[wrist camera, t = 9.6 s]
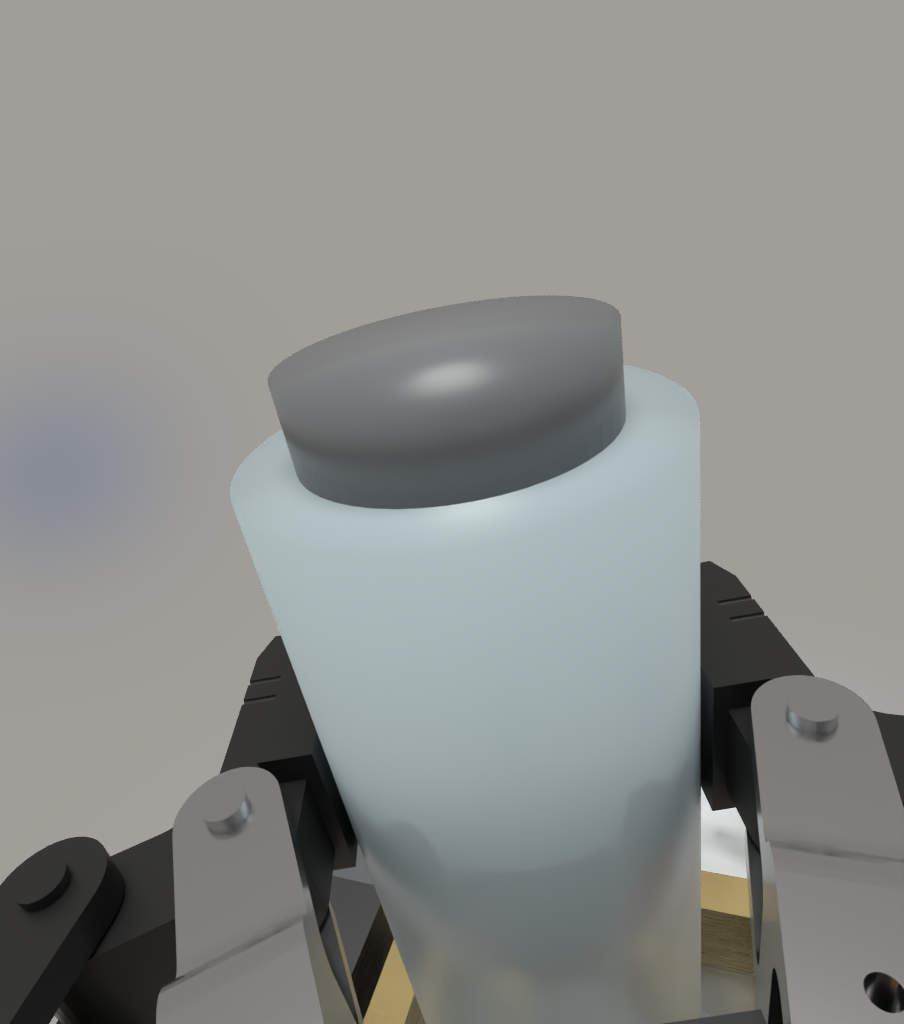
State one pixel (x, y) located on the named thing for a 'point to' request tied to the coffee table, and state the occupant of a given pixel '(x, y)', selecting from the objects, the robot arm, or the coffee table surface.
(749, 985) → the grey block with frame
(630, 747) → the bottle
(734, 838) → the coffee table surface
